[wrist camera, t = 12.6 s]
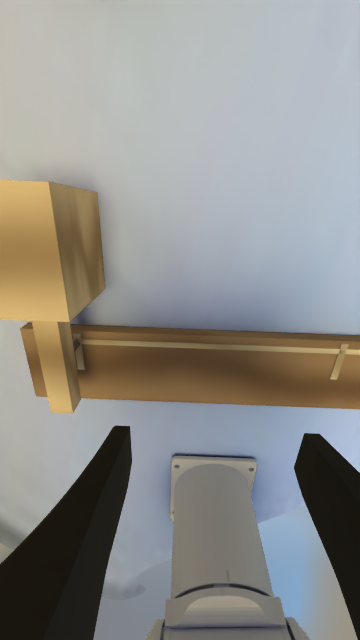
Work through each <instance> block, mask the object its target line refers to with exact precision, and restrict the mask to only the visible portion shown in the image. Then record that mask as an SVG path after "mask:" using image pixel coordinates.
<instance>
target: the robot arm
mask: <svg viewBox="0 0 360 640" xmlns="http://www.w3.org/2000/svg"><path fill="white" fill-rule="evenodd" d="M131 464H132V453H131V436H130V426H114V427H113V428H112V430H111V432H110V433H109V435H108V436H107V438H106V440H105V441H104V443H103V444H102V446H101V447H100V449H99V450H98V451H97V453H96V454H95V456H94V457H93V459H92V460H91V461H90V463H89V464H88V465H87V467H86V468H85V470H84V471H83V472H82V474H81V475H80V476H79V478H78V479H77V480H76V481H75V483H74V484H73V485H72V486H71V488H70V489H69V490H68V491H67V493H66V494H65V495H64V496H63V498H62V499H61V500H60V501H59V502H58V503H57V505H56V506H55V507H54V508H53V509H52V510H51V512H50V513H49V514H48V515H47V516H46V517H45V518H44V519H43V521H42V522H41V523H40V524H39V525H38V526H37V527H36V528H35V529H34V530H33V531H32V532H31V533H30V534H29V536H28V537H27V538H26V539H25V540H24V541H23V542H22V543H21V544H20V545H19V546H18V547H17V548H16V549H15V550H14V551H13V552H12V553H11V554H10V555H9V556H8V557H7V558H6V559H5V560H4V561H3V562H2V563H1V564H0V640H93V638H94V632H95V626H96V621H97V616H98V610H99V605H100V600H101V594H102V589H103V584H104V579H105V574H106V569H107V565H108V561H109V556H110V553H111V549H112V545H113V541H114V538H115V534H116V530H117V526H118V522H119V519H120V515H121V511H122V507H123V504H124V500H125V496H126V492H127V488H128V482H129V476H130V470H131ZM256 469H257V462H256V460H254V459H247V458H222V457H198V456H174V457H173V458H172V463H171V497H170V519H171V520H172V521H174V523H173V550H172V576H171V577H172V578H171V579H172V580H171V599H167V600H166V609H165V610H166V611H165V619H157V620H156V621H155V623H154V625H153V627H152V629H151V630H150V632H149V634H148V635H147V638H146V640H310V639H309V637H308V636H307V634H306V633H305V632H304V631H303V629H302V628H301V627H300V626H299V625H298V623H297V621H296V620H295V619H294V618H292V617H285V616H284V612H283V608H282V604H281V600H280V598H279V597H274V596H273V591H272V587H271V582H270V578H269V574H268V569H267V565H266V561H265V556H264V552H263V548H262V543H261V539H260V535H259V531H258V526H257V522H256V517H255V513H254V509H253V504H252V500H251V492H252V487H253V483H254V478H255V474H256ZM294 470H295V473H296V477H297V480H298V483H299V487H300V490H301V493H302V496H303V498H304V501H305V503H306V506H307V508H308V510H309V513H310V515H311V517H312V520H313V522H314V525H315V527H316V529H317V531H318V534H319V536H320V539H321V541H322V543H323V545H324V548H325V550H326V553H327V555H328V557H329V560H330V562H331V564H332V567H333V569H334V572H335V574H336V577H337V579H338V582H339V585H340V588H341V591H342V594H343V597H344V599H345V602H346V605H347V608H348V611H349V614H350V617H351V620H352V623H353V626H354V629H355V632H356V635H357V638H358V640H360V473H359V472H358V471H357V470H356V469H355V468H354V467H353V466H352V465H351V464H350V463H349V462H348V461H347V460H346V459H345V458H344V457H343V456H342V455H341V454H340V453H339V452H337V451H336V450H335V449H334V448H333V447H332V446H331V445H330V444H329V443H328V442H327V441H326V440H325V439H324V438H323V437H322V436H321V435H320V434H308V433H304V436H303V440H302V443H301V446H300V450H299V453H298V456H297V459H296V463H295V466H294Z"/></svg>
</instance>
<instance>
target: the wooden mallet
mask: <svg viewBox="0 0 360 640" xmlns="http://www.w3.org/2000/svg"><path fill="white" fill-rule="evenodd" d="M104 289H105V278H104V267H103V255H102V243H101V231H100V219H99V208H98V196H97V193H96V192H92V191H87V190H83V189H78V188H74V187H69V186H65V185H60V184H56V183H51V182H39V181H11V180H0V319H1V320H27V321H32V326H33V330H34V335H35V340H36V344H37V349H38V354H39V358H40V363H41V368H42V372H43V377H44V382H45V386H46V391H47V396H48V400H49V405H50V410H51V412H52V413H73V412H74V410H75V409H76V407H77V405H78V403H79V401H80V400H81V394H80V387H79V381H78V374H77V367H76V361H75V354H74V352H75V351H76V349H77V348H78V347H79V345H80V344H79V342H77V341H74V342H73V341H72V334H71V327H70V321H71V320H72V319H73V318H74V317H75V316H77V315H78V314H79V313H80V312H81V311H82V310H83V309H84V308H85V307H86V306H87V305H88V304H89V303H90V302H91V301H92V300H93V299H94V298H95V297H97V296H98V295H99V294H100V293H101V292H102V291H103V290H104Z"/></svg>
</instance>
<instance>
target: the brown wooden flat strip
mask: <svg viewBox="0 0 360 640" xmlns="http://www.w3.org/2000/svg"><path fill="white" fill-rule="evenodd" d="M70 327H71V334H72V341H73V342H74V341H77V342H79V344H80V345H79V347H78V348H77V349H76V351H75V352H74V354H75V361H76V367H77V374H78V381H79V387H80V394H81V398H90V399H115V400H140V401H165V402H191V403H216V404H241V405H266V406H291V407H316V408H342V409H360V336H354V335H328V334H302V333H276V332H250V331H224V330H198V329H172V328H146V327H120V326H94V325H70ZM20 330H21V334H22V338H23V343H24V347H25V351H26V355H27V360H28V364H29V368H30V372H31V377H32V381H33V385H34V389H35V393H36V396H40V397H48V396H47V391H46V386H45V382H44V377H43V372H42V368H41V363H40V358H39V354H38V349H37V344H36V340H35V335H34V330H33V326H32V323H27V324H26V325H25V326H23V327H22V328H20Z"/></svg>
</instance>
